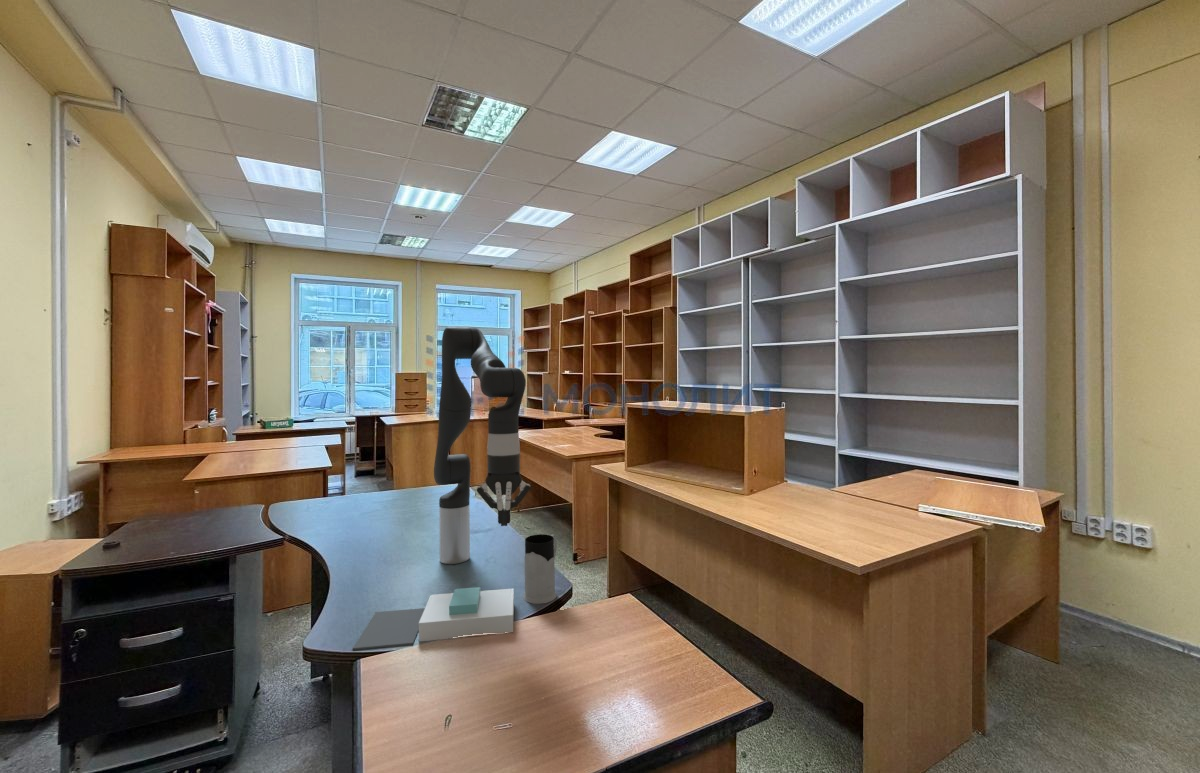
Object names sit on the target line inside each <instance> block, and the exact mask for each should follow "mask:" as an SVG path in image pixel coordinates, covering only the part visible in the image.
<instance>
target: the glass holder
mask: <svg viewBox="0 0 1200 773" xmlns="http://www.w3.org/2000/svg"><path fill="white" fill-rule="evenodd" d="M557 540H558V539H557V536H556V535H555V534H550V535H549V534H542V533H541V534H533V535H529V536H527V537H525V538H524V593H523V595H522V599H523V601H525V602H527V603H530V604H534V605H541V604H547V603H549V602H552V601H554V600H555V599H556V598H557V596H558V595H557V592H556V588H555V587H556V579H555V578H556V576H555V574H556V572H555V571H556V568H555V566H556V562H555V561H556V556H557V548H558V546H557V545H558V543H557V542H558V541H557Z"/></svg>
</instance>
